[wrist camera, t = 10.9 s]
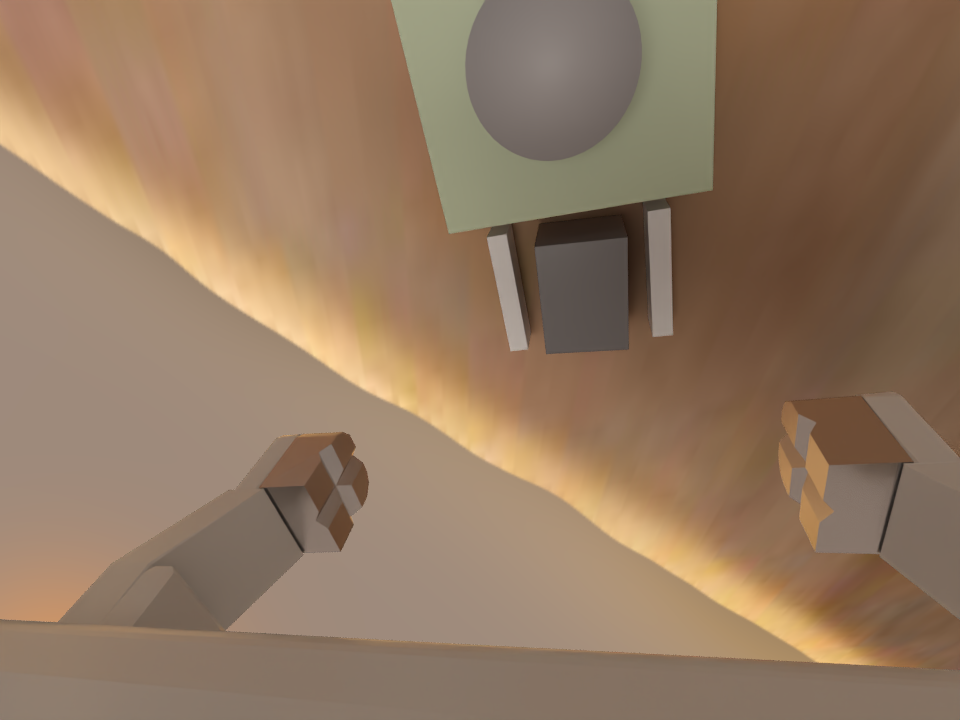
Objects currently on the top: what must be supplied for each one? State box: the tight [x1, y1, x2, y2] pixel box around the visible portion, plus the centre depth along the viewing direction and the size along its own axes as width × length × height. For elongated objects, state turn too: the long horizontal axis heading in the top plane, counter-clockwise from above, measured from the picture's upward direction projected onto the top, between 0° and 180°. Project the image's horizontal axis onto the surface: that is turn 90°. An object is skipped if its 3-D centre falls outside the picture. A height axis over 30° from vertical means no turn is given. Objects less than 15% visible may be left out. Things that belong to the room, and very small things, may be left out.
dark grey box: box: [535, 215, 629, 354], centre depth 31 cm, size 5×7×4 cm
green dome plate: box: [391, 0, 717, 351], centre depth 26 cm, size 14×21×8 cm, turn 12°
